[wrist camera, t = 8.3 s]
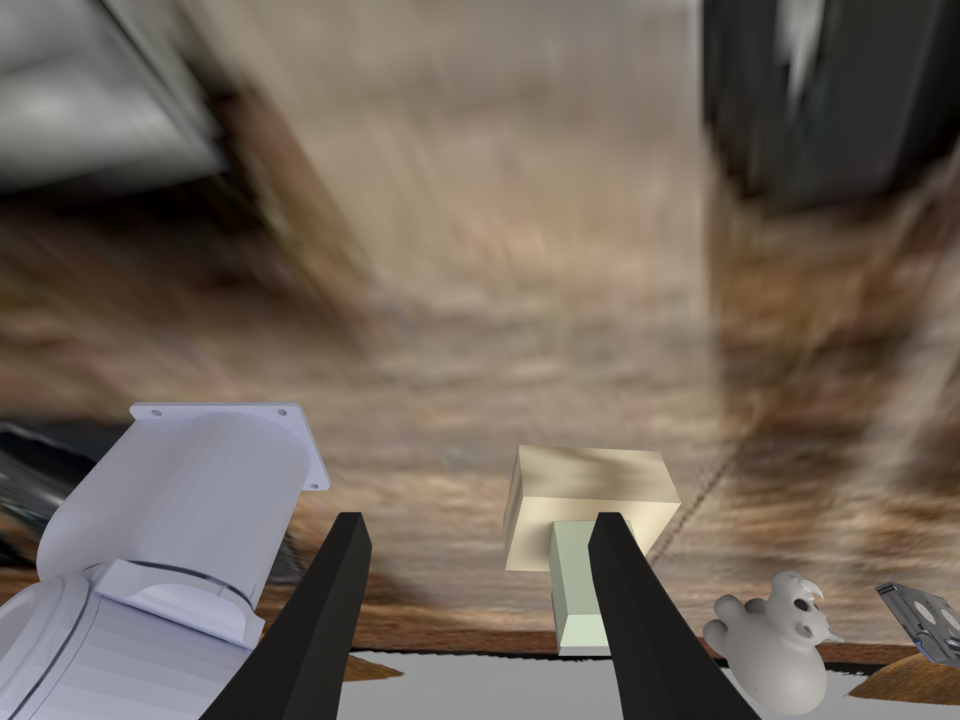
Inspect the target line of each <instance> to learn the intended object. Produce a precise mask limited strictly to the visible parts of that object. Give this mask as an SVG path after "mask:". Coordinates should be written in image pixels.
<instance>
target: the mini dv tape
mask: <svg viewBox="0 0 960 720" xmlns="http://www.w3.org/2000/svg"><path fill="white" fill-rule="evenodd" d="M875 590H876V591H877V593H878V594H879V595H880V597H881V598H882V599H883V601H884V602H885V604H886V605H887V606H888V608H889V609H890V611H891V612H892V613H893V615H894V616H895V618H896V619H897V620H898V622H899V623H900V625H901V626H902V627H903V629H904V630H905V632H906V633H907V634H908V636H909V637H910V639H911V640H912V641H913V643H914V644H915V646H916V647H917V648H918V650H919V651H920V652H921V653H922V654H923V655H924V656H925V657H926V658H927V659H928V660H929V661H930V662H932V663H937V664H941V665H946V666H951V667H955V668H960V618H959V616H958V615H957V614H956V613H955V612H954V610H953V609H952V608H951V607H950V606H949V604H948V603H947V602H946V601H945V599H944V598H943V597H939V596H936V595H933V594H930V593H926V592H923V591H920V590H917V589H913V588H910V587H907V586H904V585H900V584H897V583H894V582H891V581H890V582H888V583H885V584H883V585H880V586H878V587H875Z"/></svg>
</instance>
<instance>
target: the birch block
mask: <svg viewBox="0 0 960 720" xmlns="http://www.w3.org/2000/svg"><path fill="white" fill-rule="evenodd" d="M680 505H681V501H680V499H679V496H678V494H677V492H676V489H675V487H674V485H673V482H672V480H671V478H670V475H669V473H668V471H667V468H666V466H665V463H664V461H663V459H662V456H661V454H660V452H655V451H635V450H615V449H595V448H574V447H554V446H534V445H518V450H517V455H516V459H515V464H514V469H513V474H512V479H511V484H510V488H509V493H508V498H507V503H506V508H505V513H504V517H503V539H504V561H505V570H514V571H544V572H550V568H549V561H548V556H549V549H550V543H551V537H552V530H553V524H554V521H596V519H597V516H598V513H599V512H620V513H621V514H622V516H623V518H624V520H630V521H631V525H632V528H633V531H634V534H635V537H636V541H637V544H638V546H639V548H640V549H641V551H642V553H643V555H644V556H645V555H646V554H647V552H648V551H649V550H650V548H651V547H652V545H653V544H654V542H655V541H656V539H657V538H658V537H659V535H660V534H661V532H662V531H663V529H664V528H665V526H666V525H667V524H668V522H669V521H670V519H671V518H672V516H673V515H674V513H675V512H676V511H677V509H678V508H679V506H680Z"/></svg>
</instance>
